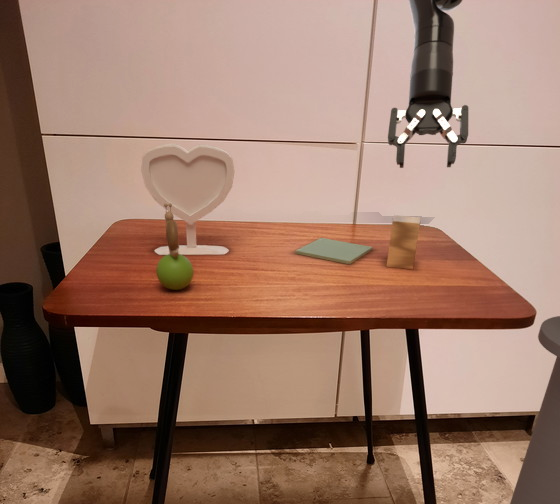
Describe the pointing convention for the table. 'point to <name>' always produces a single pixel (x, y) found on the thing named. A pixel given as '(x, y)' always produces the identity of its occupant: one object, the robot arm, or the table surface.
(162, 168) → the heart sculpture
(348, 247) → the square tile
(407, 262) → the birch block
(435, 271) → the table surface
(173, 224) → the green ball with handle
